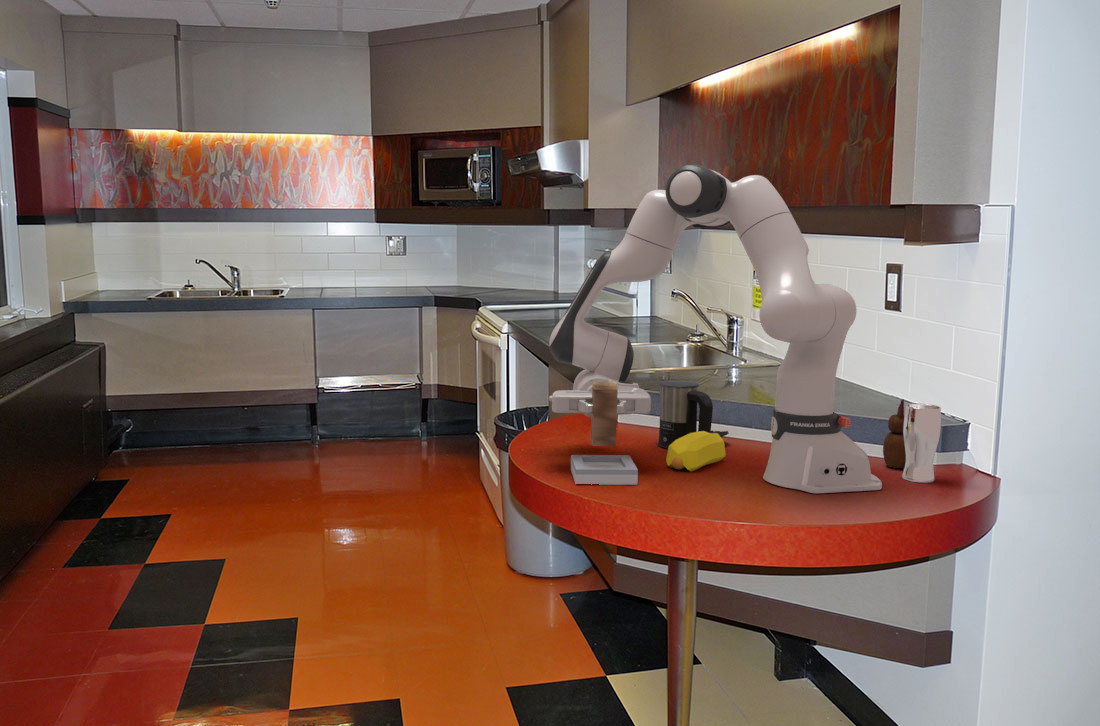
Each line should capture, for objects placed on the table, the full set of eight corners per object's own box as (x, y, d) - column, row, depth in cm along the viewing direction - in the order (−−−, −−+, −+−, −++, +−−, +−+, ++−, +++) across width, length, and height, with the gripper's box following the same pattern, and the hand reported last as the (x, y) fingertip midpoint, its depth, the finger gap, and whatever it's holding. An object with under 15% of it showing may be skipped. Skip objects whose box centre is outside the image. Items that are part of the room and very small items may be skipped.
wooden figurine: (907, 472, 191) (912, 401, 189) (879, 468, 194) (883, 398, 192) (914, 465, 197) (919, 396, 195) (886, 461, 200) (890, 394, 198)
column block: (613, 440, 185) (615, 382, 183) (615, 446, 180) (618, 385, 179) (590, 440, 185) (592, 381, 183) (592, 445, 180) (594, 385, 178)
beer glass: (937, 477, 188) (942, 405, 186) (936, 485, 181) (941, 410, 179) (900, 473, 190) (905, 402, 188) (898, 480, 184) (903, 407, 182)
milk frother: (650, 446, 211) (652, 383, 209) (678, 435, 224) (680, 375, 222) (707, 455, 203) (710, 389, 201) (734, 443, 216) (736, 380, 214)
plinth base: (628, 469, 189) (629, 455, 189) (637, 484, 177) (637, 469, 177) (570, 469, 189) (571, 454, 188) (575, 484, 177) (575, 469, 176)
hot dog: (658, 469, 190) (691, 476, 186) (659, 438, 189) (692, 443, 185) (700, 454, 205) (731, 460, 200) (701, 425, 204) (733, 430, 199)
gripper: (548, 381, 193) (552, 393, 179) (645, 383, 194) (656, 394, 181) (547, 411, 194) (551, 424, 180) (643, 412, 195) (654, 425, 182)
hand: (604, 409), depth 181 cm, fingers closed on column block, 4 cm apart
